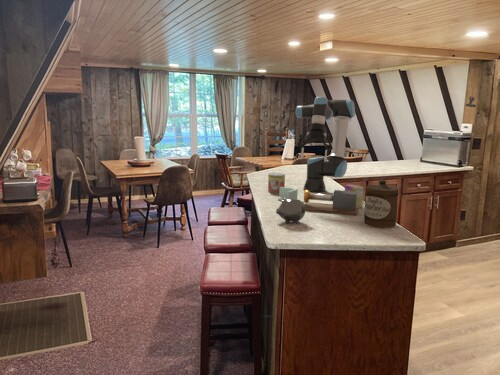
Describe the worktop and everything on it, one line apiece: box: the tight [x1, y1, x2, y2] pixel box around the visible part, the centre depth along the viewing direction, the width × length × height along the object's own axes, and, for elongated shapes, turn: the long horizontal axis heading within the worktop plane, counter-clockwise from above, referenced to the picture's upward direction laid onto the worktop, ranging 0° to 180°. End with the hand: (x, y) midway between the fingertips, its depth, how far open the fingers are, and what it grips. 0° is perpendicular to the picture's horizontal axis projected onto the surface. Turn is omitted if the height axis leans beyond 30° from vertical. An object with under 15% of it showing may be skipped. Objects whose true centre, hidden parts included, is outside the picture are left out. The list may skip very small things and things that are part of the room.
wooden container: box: [363, 178, 399, 229], centre depth 186 cm, size 15×15×22 cm
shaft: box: [303, 190, 333, 202], centre depth 215 cm, size 7×21×7 cm, turn 73°
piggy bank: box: [275, 198, 307, 225], centre depth 187 cm, size 11×15×12 cm
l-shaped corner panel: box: [278, 187, 299, 202], centre depth 236 cm, size 12×12×8 cm
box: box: [344, 184, 364, 208], centre depth 225 cm, size 10×6×12 cm, turn 21°
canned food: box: [267, 172, 286, 194], centre depth 263 cm, size 11×11×12 cm
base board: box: [302, 201, 359, 216], centre depth 216 cm, size 16×36×2 cm, turn 73°
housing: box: [332, 189, 357, 211], centre depth 212 cm, size 8×12×9 cm
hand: (313, 160), depth 224 cm, fingers open, 13 cm apart
